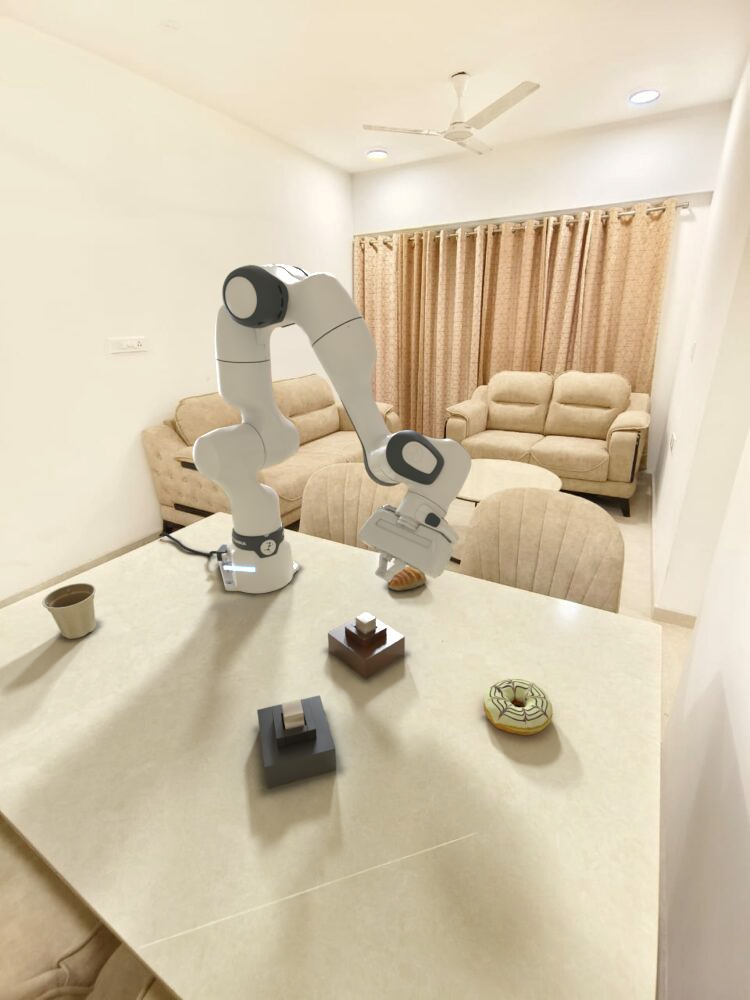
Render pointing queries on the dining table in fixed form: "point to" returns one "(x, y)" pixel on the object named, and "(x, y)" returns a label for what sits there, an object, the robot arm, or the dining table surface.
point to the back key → (365, 623)
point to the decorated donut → (514, 719)
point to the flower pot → (72, 609)
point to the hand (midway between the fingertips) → (381, 578)
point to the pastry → (407, 579)
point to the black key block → (296, 744)
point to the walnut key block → (366, 647)
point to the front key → (293, 714)
